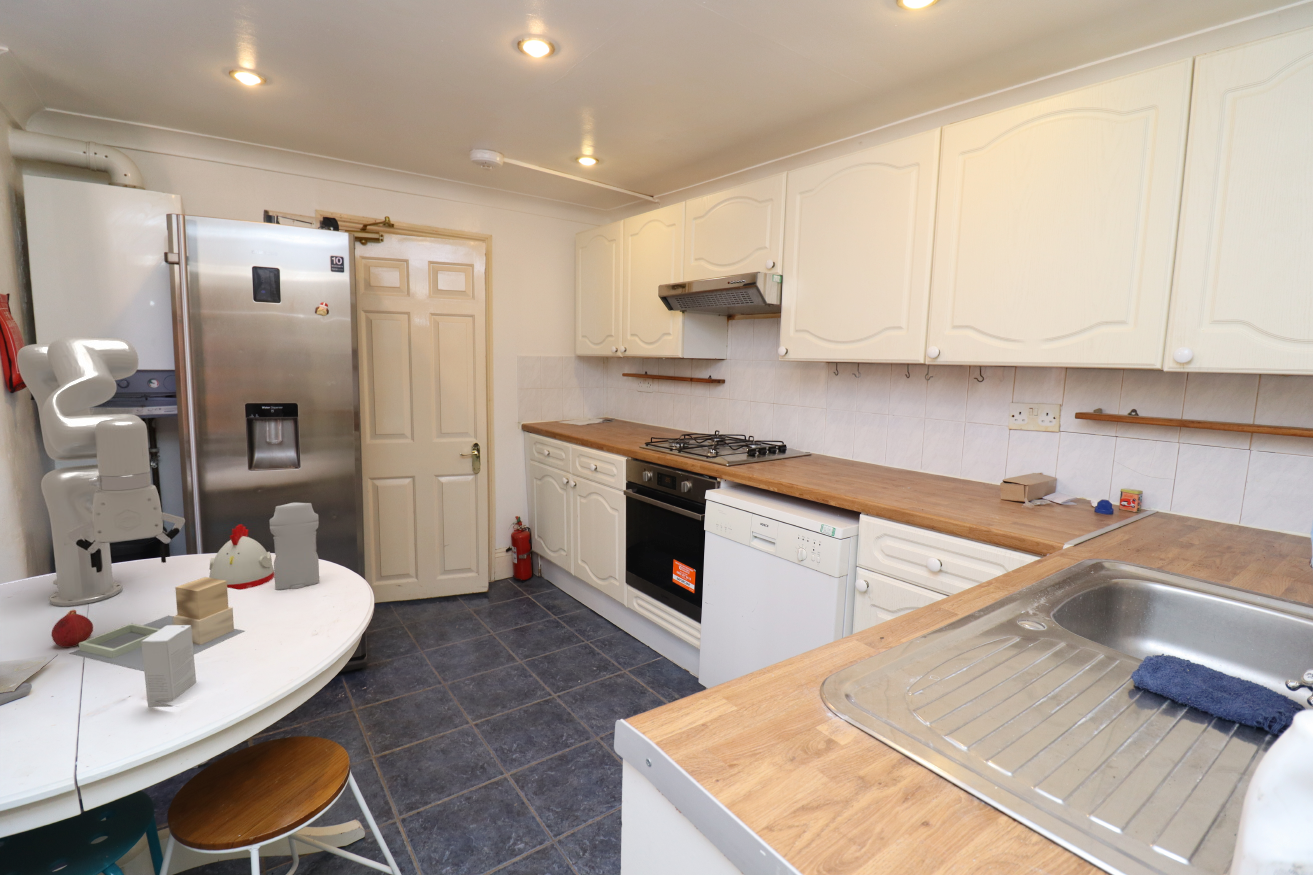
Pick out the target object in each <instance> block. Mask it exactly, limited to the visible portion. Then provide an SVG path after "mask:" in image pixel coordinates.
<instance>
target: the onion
mask: <svg viewBox="0 0 1313 875" xmlns="http://www.w3.org/2000/svg"><path fill="white" fill-rule="evenodd" d="M93 632H94V625H93V622H92V621H91V620H90V619H89V618H88V617H87V616H85V615H83V614H80V613H77V610H76V609H71V610H69V611H68V612H67V613H66V614H65V615H64V616H62V617H61V618H60V619H59V620H58V621H56V623H55V624H54V626H53V627H52V630H51V638H52V641H53V643H54V644H55V645H57V646H59V647H62V648H71V647H75V646H79V643H80V642H83V641H85V640H88V639H90V638H91V636H92V633H93Z"/></svg>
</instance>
